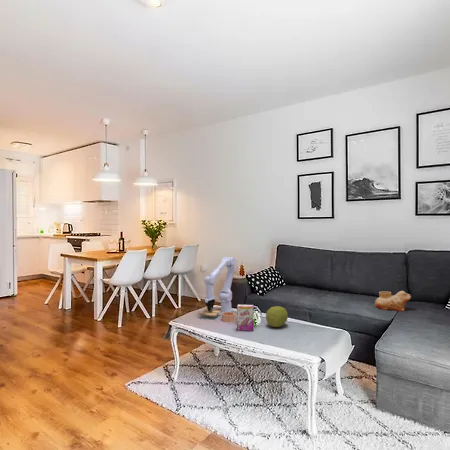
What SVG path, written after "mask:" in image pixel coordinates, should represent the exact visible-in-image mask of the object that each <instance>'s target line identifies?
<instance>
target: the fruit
mask: <svg viewBox="0 0 450 450" xmlns="http://www.w3.org/2000/svg"><path fill="white" fill-rule="evenodd" d="M288 318H289V314H288V311H287V309H286V308H285V307H282V306H279V305H277V306H276V305H275V306H271V307H270V308H269V309H267V310H266V314H265V320H266V322H267V325H268V326H270V327H273V328H280V327H283V325H284V324H285V323H286V322H287V321H288Z"/></svg>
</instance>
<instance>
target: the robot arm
mask: <svg viewBox="0 0 450 450" xmlns="http://www.w3.org/2000/svg"><path fill="white" fill-rule="evenodd" d="M236 264H237V260H236V258H235V257H229V256H223V258H222V259H221V261H220V264H219V265H218V266H217V267H216V268H214V269H212V271H211V272H210V274H209V275H207V276H205V278H204V284H205V291H206V292H205V293H206V294H205V295H206V297H205V298H204V304H205V305H206V309H208V311H211V307H212V310H214V306H215V305H214V304H215V302H216V295H215V288H214V287H215V285H214V284H215V283H216V280H217V278H218V276H220V275H221V273H220V272H221V271H222V270H224V268H225V267H226V269H227V272H226V274H225V275H226V277H225V280H224V284H223V285H224V286H223V288H222V289H221V290H220V292H219V294H218V299H219V301H220V310H221V311H222V312H221V313H220V314H222V313H224V312H233V309H232V302H231V301H232V299H233V292H232V290H231V287H232V282H233V278H234V274H235V269H236Z"/></svg>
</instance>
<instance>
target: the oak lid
mask: <svg viewBox="0 0 450 450" xmlns="http://www.w3.org/2000/svg"><path fill="white" fill-rule="evenodd" d="M221 312H222V311H221V309H220V310H219V309H212V307H211V311H208V309H207V308H206V309H204V310H202V311H201V312H199V313H198V315H199V316H201V315H206V316H216V315H218V314H222V313H221Z"/></svg>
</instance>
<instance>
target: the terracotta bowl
mask: <svg viewBox="0 0 450 450" xmlns="http://www.w3.org/2000/svg"><path fill="white" fill-rule="evenodd" d="M221 315H222V317H221V320H222V322H224V323H225V322H226V323H231V322H232V323H233V322H235V321H236V313H235V312H233V311H231V312H224V313H221Z"/></svg>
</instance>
